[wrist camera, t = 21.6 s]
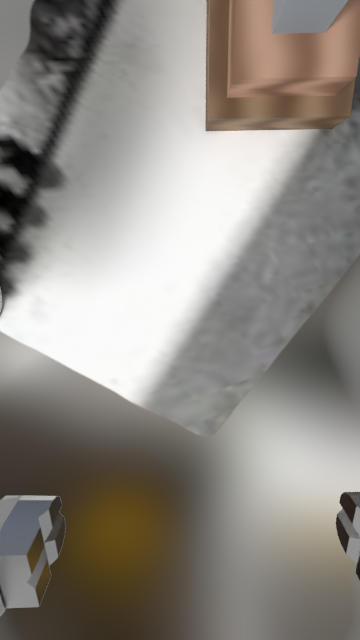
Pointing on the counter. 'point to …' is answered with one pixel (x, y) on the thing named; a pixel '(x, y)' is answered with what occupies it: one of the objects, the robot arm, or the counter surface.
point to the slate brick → (304, 15)
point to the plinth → (260, 106)
